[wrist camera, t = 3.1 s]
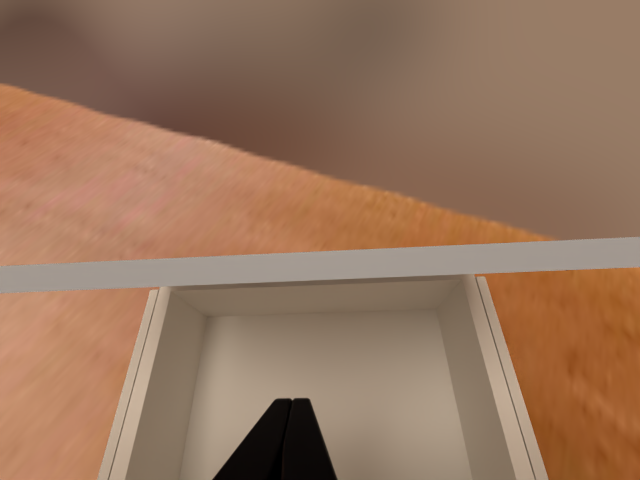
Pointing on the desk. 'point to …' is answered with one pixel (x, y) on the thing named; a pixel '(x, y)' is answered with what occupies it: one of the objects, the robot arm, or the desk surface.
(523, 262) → the carton flap
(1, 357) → the desk surface
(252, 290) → the carton
